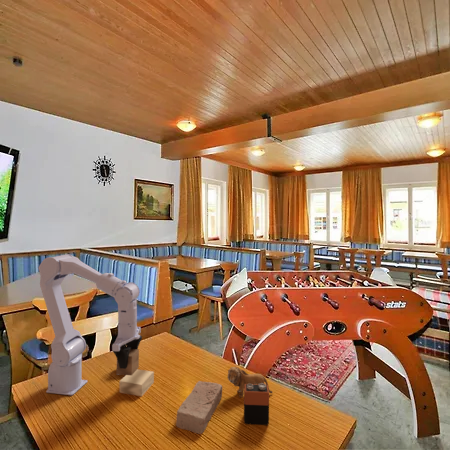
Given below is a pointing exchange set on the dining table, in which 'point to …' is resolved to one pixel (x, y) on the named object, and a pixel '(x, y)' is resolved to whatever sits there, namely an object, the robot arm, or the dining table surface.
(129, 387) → the base block
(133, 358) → the walnut block
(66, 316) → the robot arm
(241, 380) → the lion figurine
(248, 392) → the battery
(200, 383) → the brick
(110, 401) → the dining table surface
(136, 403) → the dining table surface
